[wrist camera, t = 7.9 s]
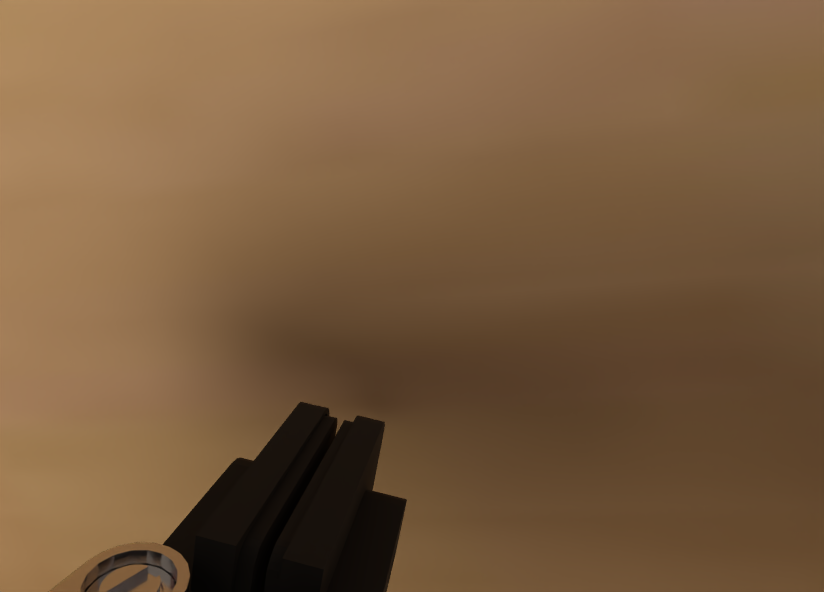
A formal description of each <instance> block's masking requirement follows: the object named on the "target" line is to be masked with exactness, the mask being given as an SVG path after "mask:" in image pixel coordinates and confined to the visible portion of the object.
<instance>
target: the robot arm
mask: <svg viewBox="0 0 824 592" xmlns="http://www.w3.org/2000/svg"><path fill="white" fill-rule="evenodd" d="M384 427H385V422H383V421H379V420H374V419H370V418H366V417H362V416H357V417H356V418H355V420H354V422H351V421H346V420H345V421H344V422H343V424H342V426H341V427H340V429H339V431H338V433H337V434H336V428H337V418H334V417H330V416H329V409H328V408H325V407H320V406H316V405H312V404H308V403H304V402H300V403H299V404H298V405H297V407H296V408H295V409H294V410H293V412H292V413H291V414H290V415H289V417H288V418H287V419H286V421H285V422H284V423H283V424H282V426H281V427H280V428H279V430H278V431H277V432H276V433H275V435H274V436H273V437H272V438H271V440H270V441H269V442H268V444H267V445H266V446H265V447H264V449H263V450H262V451H261V452H260V454H259V455H258V456H257V458H256V459H255V460H254V461H252V460H248V459H244V458H237V459H236V460H235V461H234V462H233V463H232V464H231V465H230V466H229V467H228V468H227V469H226V471H225V472H224V473H223V474H222V475H221V477H220V478H219V479H218V480H217V481H216V482H215V484H214V485H213V486H212V487H211V488H210V489H209V491H208V492H207V493H206V494H205V495H204V497H203V498H202V499H201V500H200V501H199V502H198V504H197V505H196V506H195V507H194V508H193V509H192V511H191V512H190V513H189V514H188V515H187V517H186V518H185V519H184V520H183V521H182V522H181V524H180V525H179V526H178V527H177V528H176V529H175V531H174V532H173V533H172V534H171V535H170V537H169V538H168V539H167V540H166V541H165V542H164V544H163V545H161V544H157V543H147V542H136V543H130V544H124V545H119V546H116V547H114V548H111V549H108V550H106V551H103V552H101V553H99V554H98V555H96V556H94V557H93V558H91V559H90V560H88V561H86V562H85V563H84V564H83V565H81V566H80V567H79V568H77V569H76V570H75V571H74V572H72V573H71V574H70V575H69V576H67V577H66V578H65V579H63V580H62V581H61V582H60V583H58V584H57V585H56V586H55V587H53V588H52V589H51V590H49V591H48V592H386V591H387V587H388V583H389V579H390V575H391V570H392V566H393V562H394V557H395V553H396V548H397V544H398V539H399V535H400V530H401V525H402V521H403V516H404V511H405V506H406V501H407V500H406V499H402V498H399V497H395V496H391V495H387V494H383V493H379V492H375V491H372V490H373V485H374V479H375V474H376V469H377V464H378V459H379V454H380V448H381V443H382V438H383V433H384ZM335 434H336V436H335Z"/></svg>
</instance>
